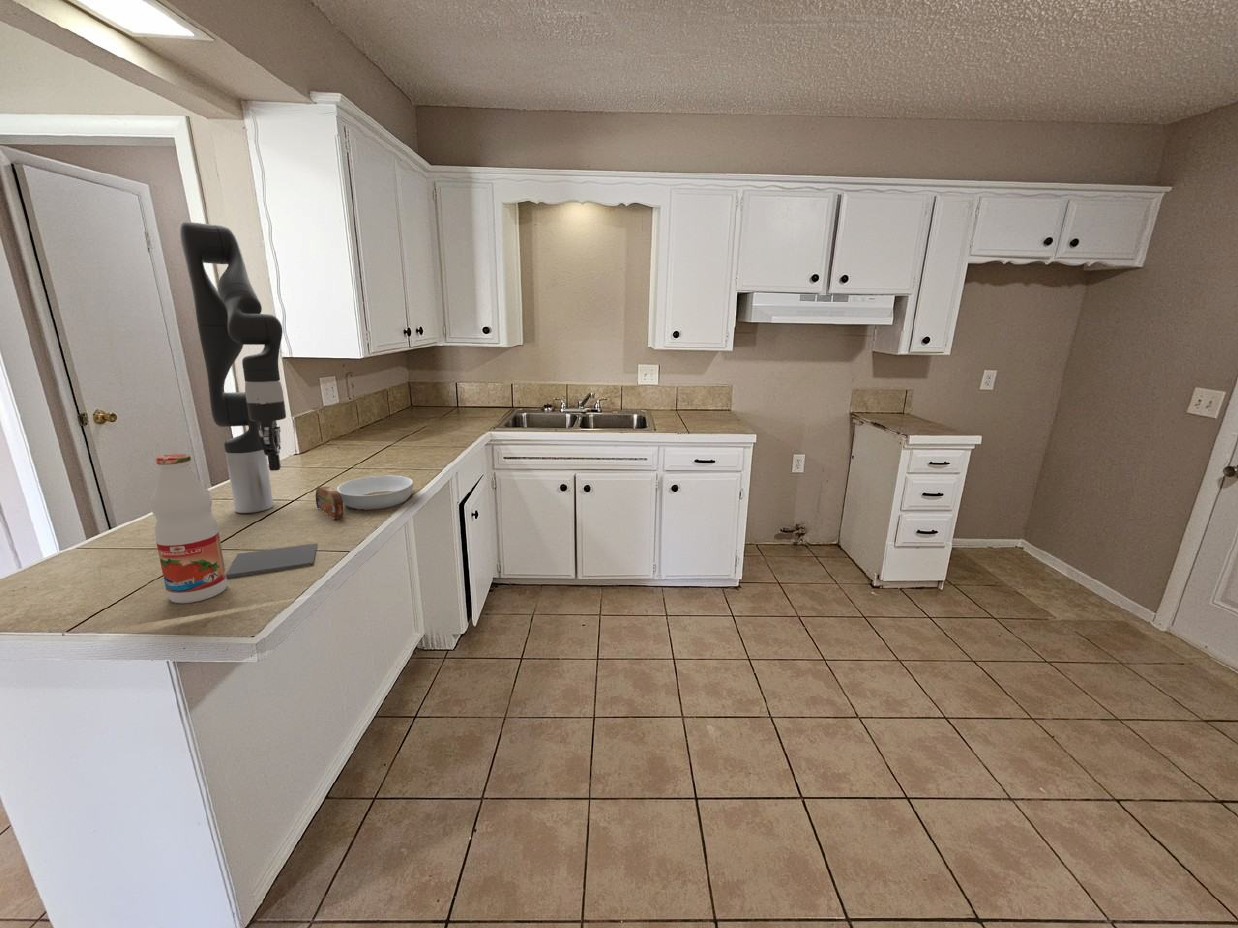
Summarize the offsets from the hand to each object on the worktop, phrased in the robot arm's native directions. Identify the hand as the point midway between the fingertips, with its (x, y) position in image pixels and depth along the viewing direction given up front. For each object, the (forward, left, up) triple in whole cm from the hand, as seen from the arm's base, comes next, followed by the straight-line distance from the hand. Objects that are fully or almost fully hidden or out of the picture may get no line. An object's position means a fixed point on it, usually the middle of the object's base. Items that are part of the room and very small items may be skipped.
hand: (275, 469), depth 129 cm
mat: (+17, 0, -17) cm, 24 cm away
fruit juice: (+28, -11, -18) cm, 35 cm away
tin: (-11, +10, -18) cm, 23 cm away
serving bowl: (-17, +22, -18) cm, 33 cm away
